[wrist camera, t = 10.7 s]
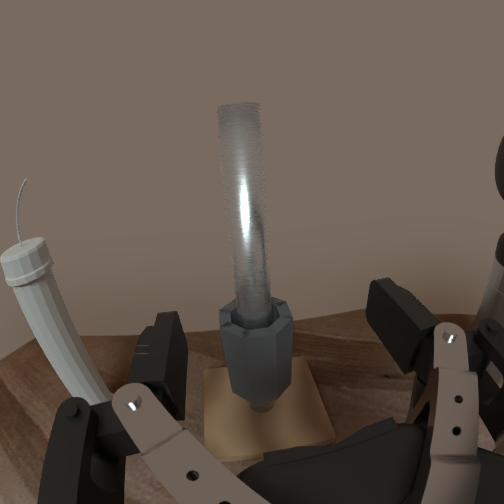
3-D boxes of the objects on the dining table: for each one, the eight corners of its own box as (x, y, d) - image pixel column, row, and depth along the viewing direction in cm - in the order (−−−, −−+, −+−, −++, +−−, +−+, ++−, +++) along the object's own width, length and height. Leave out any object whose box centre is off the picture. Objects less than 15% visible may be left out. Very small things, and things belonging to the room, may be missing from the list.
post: (303, 362, 37) (304, 112, 24) (334, 442, 24) (382, 94, 11) (205, 375, 36) (158, 124, 23) (207, 463, 23) (101, 110, 10)
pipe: (100, 398, 31) (14, 183, 19) (136, 408, 30) (48, 170, 18) (84, 425, 25) (-26, 199, 14) (121, 439, 25) (1, 186, 13)
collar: (282, 356, 31) (281, 291, 27) (295, 396, 25) (298, 330, 21) (229, 363, 30) (218, 299, 26) (233, 405, 24) (220, 341, 21)
